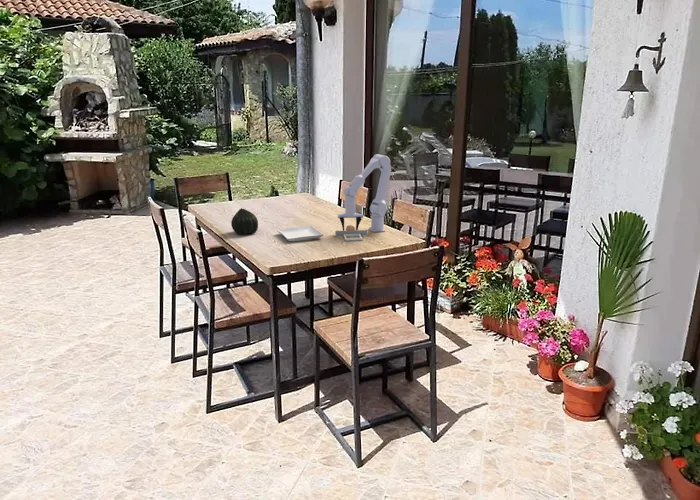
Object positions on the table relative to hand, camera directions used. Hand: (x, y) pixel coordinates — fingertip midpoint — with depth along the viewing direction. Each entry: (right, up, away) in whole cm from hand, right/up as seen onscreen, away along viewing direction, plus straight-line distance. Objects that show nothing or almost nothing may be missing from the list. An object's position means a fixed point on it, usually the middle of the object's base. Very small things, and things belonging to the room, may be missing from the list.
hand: (350, 230), depth 309 cm
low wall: (+1, -3, -4) cm, 5 cm away
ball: (0, 0, 0) cm, 0 cm away
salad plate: (-28, -5, -6) cm, 29 cm away
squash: (-60, -2, 0) cm, 60 cm away
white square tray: (+1, -5, -10) cm, 11 cm away
